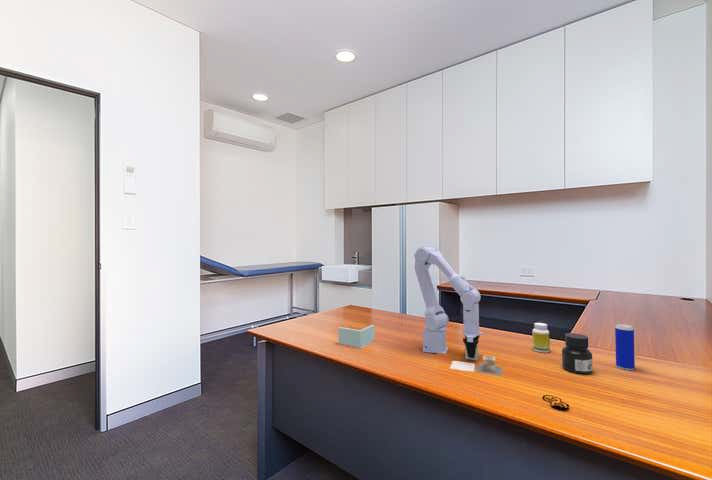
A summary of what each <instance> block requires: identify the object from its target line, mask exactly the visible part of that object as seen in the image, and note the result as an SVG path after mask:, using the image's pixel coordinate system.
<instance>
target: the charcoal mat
mask: <svg viewBox="0 0 712 480" xmlns="http://www.w3.org/2000/svg"><path fill="white" fill-rule="evenodd" d="M495 370H496V372H489V371H483V363H477V368H476V373H480V374H487V375H488V374H489V375H496V376H503V372H502V370H503V369H502V366H497V365H495Z"/></svg>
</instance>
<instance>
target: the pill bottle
mask: <svg viewBox="0 0 712 480" xmlns="http://www.w3.org/2000/svg"><path fill="white" fill-rule="evenodd" d="M533 324H534V325H533V327H534V328H533V329H532V332H531V333H532V334H531V335H532V350H533V351H535V352H537V353H544V354H545V353H550V350H551V346H550V345H551V343H550V340H551V339H550V331H549V330H548V324H547V323H544V322H535V323H533Z"/></svg>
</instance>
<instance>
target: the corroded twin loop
mask: <svg viewBox="0 0 712 480" xmlns="http://www.w3.org/2000/svg"><path fill="white" fill-rule="evenodd" d="M542 399H543V400H544V401H545V402H549V404H550V407H551V408H554V409H555V410H559V411H567V410H568V409H569V408H570V405H569V404H568V403H566V402H564V401H562V399H561V398H560V397H558V396H554V395H549V394H543V396H542ZM558 400H560V401H559V402H558ZM552 402H554V403H553V404H552ZM565 405H566V407H565Z"/></svg>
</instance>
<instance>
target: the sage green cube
mask: <svg viewBox="0 0 712 480" xmlns="http://www.w3.org/2000/svg"><path fill="white" fill-rule="evenodd" d="M464 353H465V354H464V357H465V360H471V361H479V346H478V345H477V346H476V351H475V357H474V358H469V357H468V354H467V349H466V346H465V348H464Z"/></svg>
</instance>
